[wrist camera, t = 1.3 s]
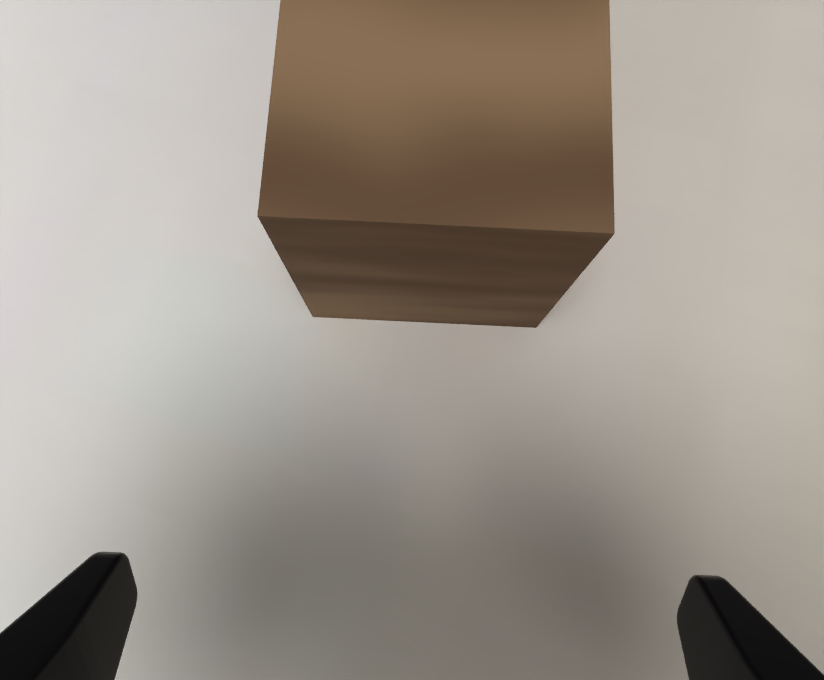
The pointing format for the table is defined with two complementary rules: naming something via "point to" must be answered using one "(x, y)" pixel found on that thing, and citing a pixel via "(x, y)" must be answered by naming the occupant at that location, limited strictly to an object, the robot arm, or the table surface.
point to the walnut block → (439, 155)
